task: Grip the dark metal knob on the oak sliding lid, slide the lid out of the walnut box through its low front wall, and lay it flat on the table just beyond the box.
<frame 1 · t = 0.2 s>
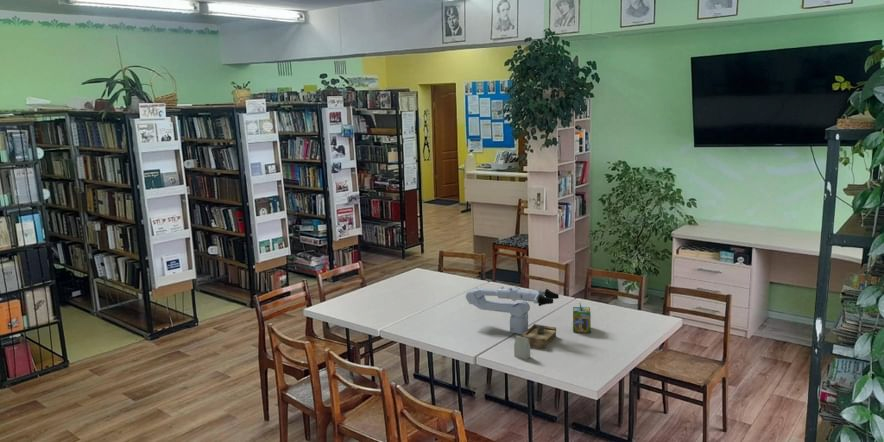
hand: (555, 298, 313), 21 cm above the table, tool horizontal, fingers open, 7 cm apart
lid: (540, 334, 312), point 4 cm above the table, touching box
grey upright block: (522, 357, 295), on the table
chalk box: (581, 330, 327), on the table
box: (538, 340, 314), on the table
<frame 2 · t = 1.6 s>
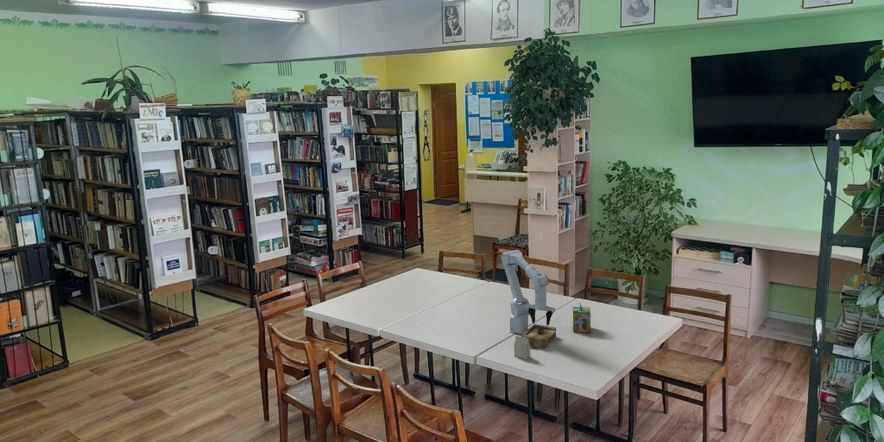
hand: (540, 323, 311), 9 cm above the table, tool pointing down, fingers open, 7 cm apart
nothing on the table moved.
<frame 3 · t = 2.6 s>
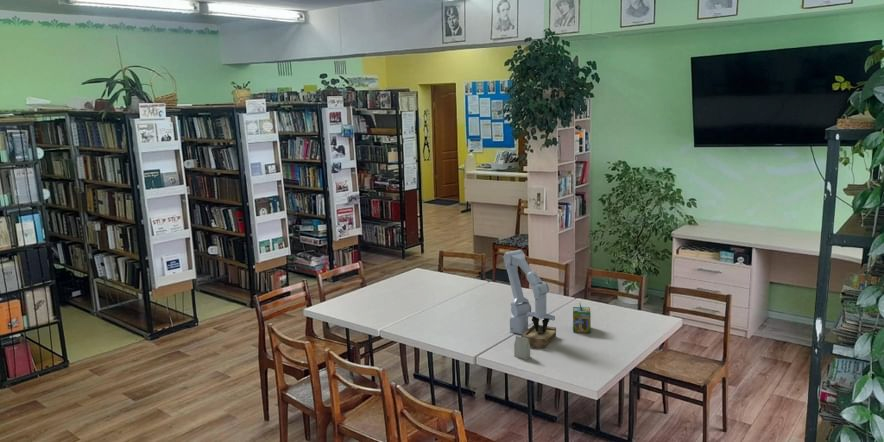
hand: (540, 331, 312), 5 cm above the table, tool pointing down, fingers closed on lid, 3 cm apart
lid: (540, 334, 312), point 4 cm above the table, touching box, gripper
everything else where it was.
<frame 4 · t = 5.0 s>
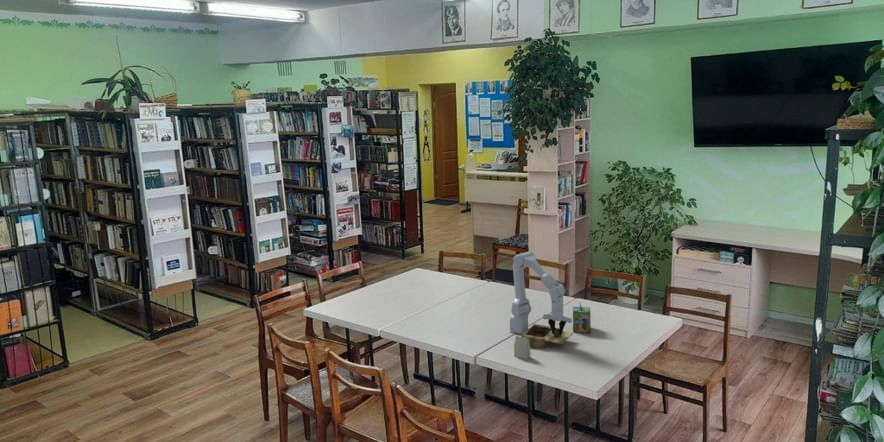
hand: (557, 334, 308), 5 cm above the table, tool pointing down, fingers closed on lid, 3 cm apart
lid: (557, 337, 308), point 4 cm above the table, touching gripper
everything else where it was.
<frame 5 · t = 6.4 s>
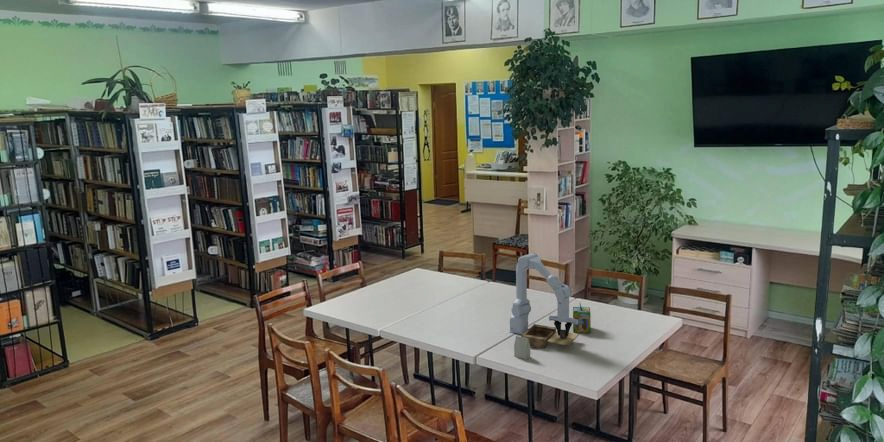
hand: (563, 335, 306), 5 cm above the table, tool pointing down, fingers closed on lid, 3 cm apart
lid: (563, 338, 307), point 3 cm above the table, touching gripper
everything else where it was.
when the fingers open (3 cm above the table, at t = 7.5 s): lid drops 2 cm, on the table.
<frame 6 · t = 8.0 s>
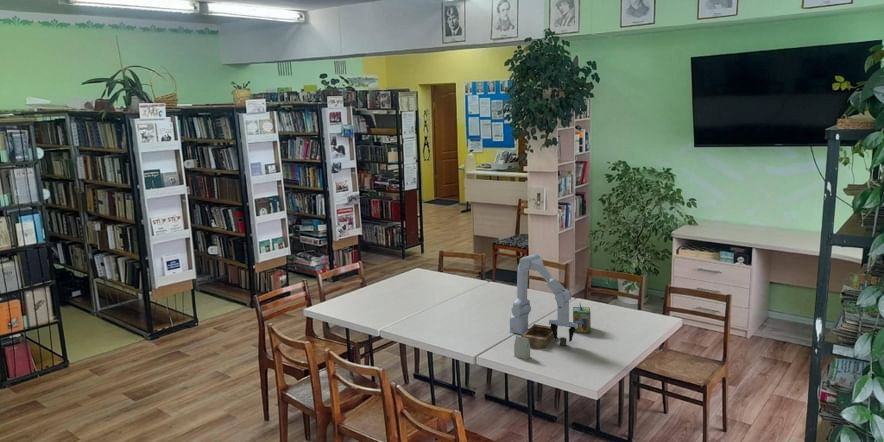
hand: (563, 339, 307), 3 cm above the table, tool pointing down, fingers open, 7 cm apart
lid: (563, 346, 307), on the table
everything else where it was.
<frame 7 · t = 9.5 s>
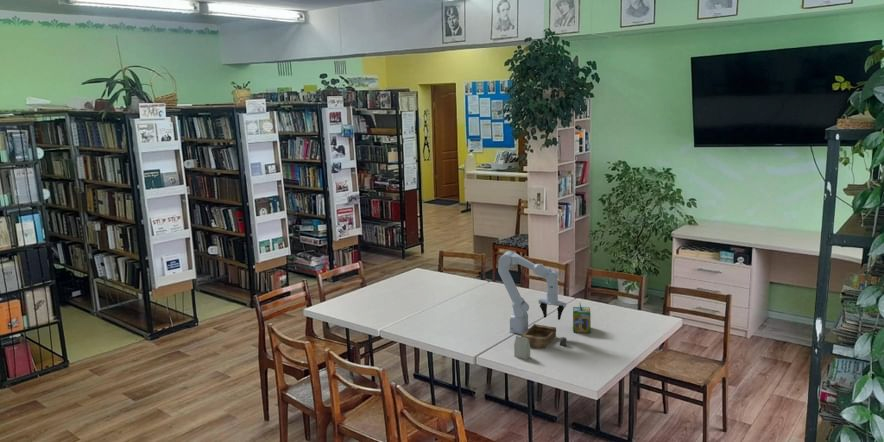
hand: (552, 318, 319), 9 cm above the table, tool pointing down, fingers open, 7 cm apart
nothing on the table moved.
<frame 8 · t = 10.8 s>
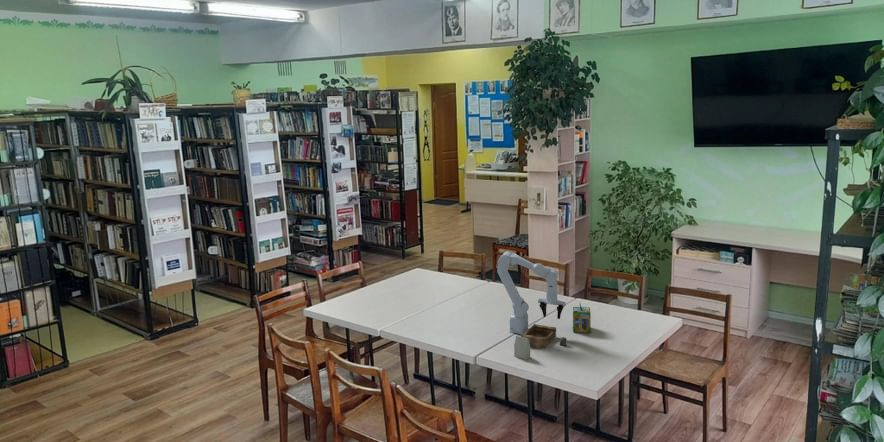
hand: (551, 317, 320), 9 cm above the table, tool pointing down, fingers open, 7 cm apart
nothing on the table moved.
at the end: lid inside the target area (0.0 cm from its centre), on the table; lid tilted 0°; lid touching table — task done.
